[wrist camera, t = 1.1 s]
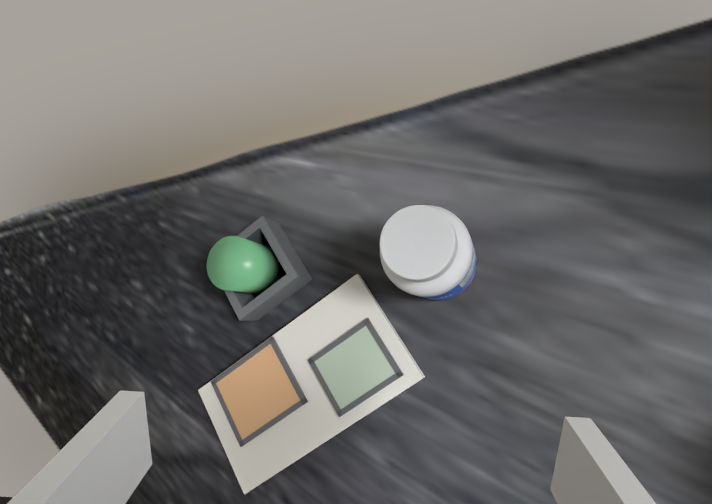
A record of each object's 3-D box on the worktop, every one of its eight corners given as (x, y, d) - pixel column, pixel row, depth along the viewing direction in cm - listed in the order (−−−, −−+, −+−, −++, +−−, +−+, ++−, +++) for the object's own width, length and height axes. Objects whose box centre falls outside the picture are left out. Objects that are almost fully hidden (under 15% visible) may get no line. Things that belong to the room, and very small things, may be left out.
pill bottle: (394, 289, 31) (351, 276, 22) (414, 221, 32) (379, 181, 23) (467, 310, 29) (451, 306, 20) (487, 238, 30) (480, 201, 21)
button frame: (278, 222, 36) (262, 215, 33) (312, 279, 34) (297, 276, 31) (227, 263, 37) (208, 259, 34) (257, 320, 35) (239, 320, 32)
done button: (264, 234, 34) (237, 225, 30) (286, 274, 33) (262, 269, 29) (228, 263, 35) (198, 256, 31) (249, 303, 33) (220, 301, 30)
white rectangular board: (359, 274, 32) (356, 273, 32) (425, 376, 30) (423, 378, 29) (202, 389, 36) (196, 390, 35) (248, 491, 33) (242, 495, 32)
